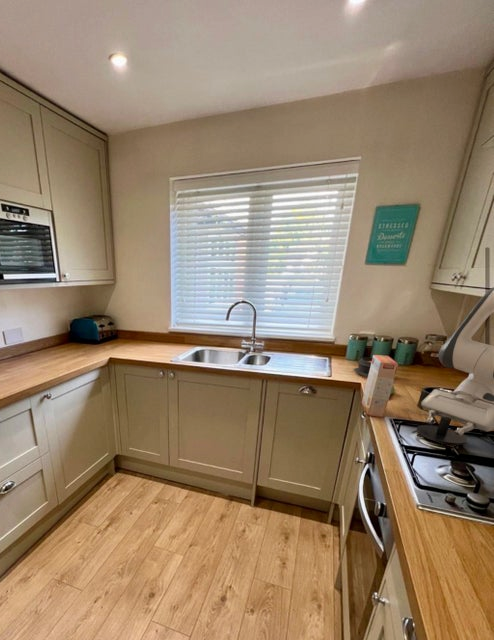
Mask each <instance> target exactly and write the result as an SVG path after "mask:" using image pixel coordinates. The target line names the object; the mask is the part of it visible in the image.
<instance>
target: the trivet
mask: <svg viewBox="0 0 494 640" xmlns="http://www.w3.org/2000/svg"><path fill="white" fill-rule="evenodd" d="M416 437H418V438H420V437H424V436H422V435H421V434H419V433H417V434H416ZM425 438H426V437H425ZM427 439H429V438H427ZM430 440H431V439H430ZM433 441H434V440H433ZM436 442H438V441H436ZM438 443H441V442H438ZM441 444H445V445H447V446H450V447H454V446H456V445H455V444H446V443H441ZM456 447H457V446H456ZM454 448H455V447H454Z"/></svg>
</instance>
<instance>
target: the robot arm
mask: <svg viewBox="0 0 494 640" xmlns="http://www.w3.org/2000/svg"><path fill="white" fill-rule="evenodd" d="M493 313H494V286H493V287H491V288H490V289H489V290H488V291H487V292H485V294H484V295H483V296H482V297H481V298H480V300H479V301H478V302H477V303H476V304H475V305H474V306H473V308H472V309H471V311H470V312H469V313H468V315H467V316H466V317H465V318H464V319H463V321H462V322H461V324H460V325H459V326H458V328H456V330H455V331H454V333H453V334H452V335H451V336H450V337H449V338H448V339H447V341H445V342H444V344H443V345H442V346H441V348H440V350H439V351H438V354H437V357H438V360H439V362H440V363H441V365H442V366H443V367H445V368H449V369H453V370H459V371H461V372H463V373H467V374H468V376H467V378H465V379H463V380H462V381H461V383H460V384H459V385H458V386H457V387H456V388H455V389H454V390H452V391H450V390H451V389H447V390H445V389H446V388H442V387H439V388H440V389H434V390H433V391H432V392H431V394H429V395H428V396H427V397H426V398H425V399H424V400H423V401H422V402H421V405H422V407H423V409H424V410H425V411H424V410H423V411H424V412H427V411H428V412H427V413H428V415H429V416H428V417H427V419H426V420H425V422H426V424H427V425H432V426H433V424H434V423H435V422H436V421H435V419H434V418H435V417H436V416H441V417H448V418H451V421H454V422H457V423H460V424H463V425H465V426H463V427H457V428H456V429H455V430H454V431H455V434H457V435H460V436H462V435H463V436H464V434H465V433H468V432H470V431H473V430H474V429H477V430H480V431H483V432H492V431H493V430H494V345H492V344H488V343H483V342H479V341H476V340H473V339H472V338H473V336H474V335H475V333H477V331H478V330H479V329H480V327H481V326H482V325H483V324H484V323H485V321H486V320H487V319H488V317H490V315H492V314H493Z"/></svg>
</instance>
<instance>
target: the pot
mask: <svg viewBox="0 0 494 640" xmlns="http://www.w3.org/2000/svg"><path fill="white" fill-rule="evenodd" d="M440 388H441V387H436V386H435V387H434V386H433V387H432V386H428V387H427V386H426V387H422V388H421V390H420V391H421V392H420V394H419V398H418V401H417V404H416V406H417V408H418V409H419V410H422V411H424V412H427V413H429V412H428V411H425V410H424V409H423V407H422V405H421V402H422V401H423V400H424V399H425V398H426V397H427V396H428V395H429V394H431V392H432V391H433V390H434V389H440ZM444 389H445V390H448V388H444ZM449 390H450V391H453V390H451V389H449ZM424 415H425V416H428V417H429V414H425V413H424ZM434 418H435V419H436V418H437V417H436V416H434Z"/></svg>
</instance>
